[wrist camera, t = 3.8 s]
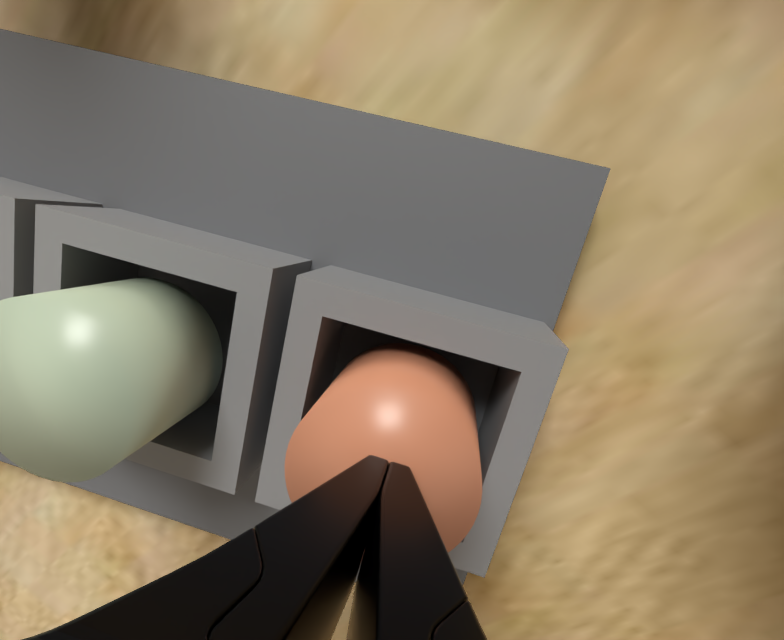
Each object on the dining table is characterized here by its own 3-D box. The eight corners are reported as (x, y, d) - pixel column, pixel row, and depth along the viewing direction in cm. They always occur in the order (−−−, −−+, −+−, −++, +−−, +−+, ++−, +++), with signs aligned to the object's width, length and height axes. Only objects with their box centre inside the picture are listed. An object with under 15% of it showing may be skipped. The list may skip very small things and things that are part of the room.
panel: (592, 175, 12) (659, 149, 8) (452, 579, 16) (450, 700, 12) (-29, 31, 14) (-225, -47, 10) (-25, 420, 18) (-167, 477, 14)
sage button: (232, 299, 11) (142, 328, 8) (212, 433, 12) (125, 506, 9) (95, 260, 11) (-43, 273, 8) (86, 394, 12) (-39, 450, 9)
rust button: (494, 367, 11) (510, 423, 8) (452, 497, 12) (450, 593, 9) (347, 325, 11) (303, 363, 8) (318, 455, 12) (270, 532, 9)
